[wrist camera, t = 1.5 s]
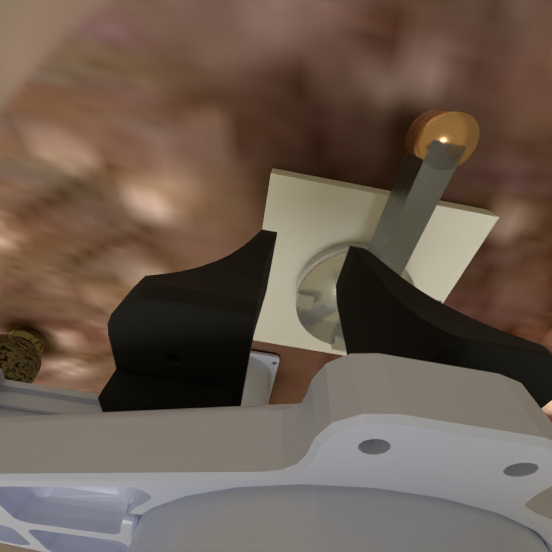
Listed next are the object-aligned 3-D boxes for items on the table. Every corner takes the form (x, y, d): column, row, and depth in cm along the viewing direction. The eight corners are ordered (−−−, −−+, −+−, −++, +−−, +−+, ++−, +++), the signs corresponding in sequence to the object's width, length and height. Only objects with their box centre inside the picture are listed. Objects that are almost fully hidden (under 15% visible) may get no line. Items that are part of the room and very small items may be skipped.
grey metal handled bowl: (382, 337, 26) (397, 380, 22) (286, 321, 25) (284, 361, 22) (499, 123, 16) (563, 133, 12) (346, 91, 16) (362, 91, 12)
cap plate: (397, 353, 29) (402, 366, 28) (247, 328, 29) (245, 339, 27) (487, 209, 20) (499, 217, 19) (272, 168, 20) (270, 173, 18)
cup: (49, 313, 29) (-23, 378, 23) (76, 359, 34) (21, 426, 27) (-18, 309, 30) (-108, 372, 23) (17, 356, 34) (-52, 420, 27)
